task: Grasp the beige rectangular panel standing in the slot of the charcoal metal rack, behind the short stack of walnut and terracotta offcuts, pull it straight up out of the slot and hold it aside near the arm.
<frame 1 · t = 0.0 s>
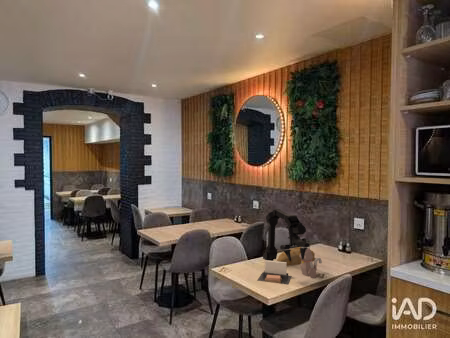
hand: (296, 260, 197), 15 cm above the table, tool pointing down, fingers open, 9 cm apart
offcut upper: (273, 278, 200), point 2 cm above the table, touching offcut lower
toy: (311, 275, 214), on the table
rack: (274, 279, 205), on the table
bread: (296, 262, 243), on the table
offcut lower: (273, 280, 200), point 1 cm above the table, touching offcut upper, rack
beige rectangular panel: (275, 276, 208), point 1 cm above the table, touching rack
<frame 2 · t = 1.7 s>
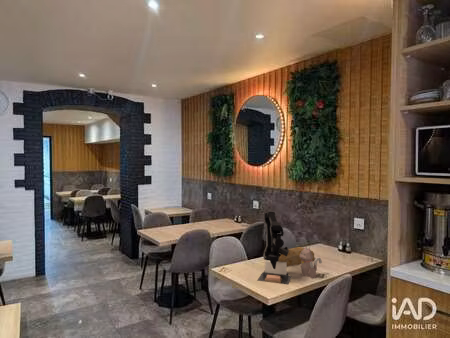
hand: (275, 266, 208), 8 cm above the table, tool pointing down, fingers open, 9 cm apart
nothing on the table moved.
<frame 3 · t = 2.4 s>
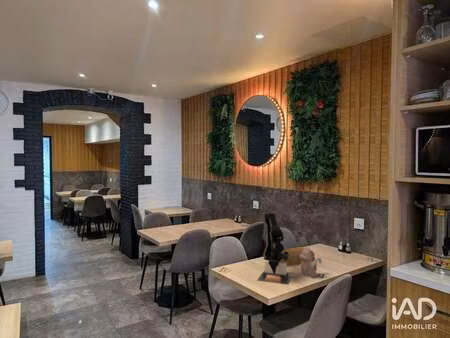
hand: (275, 271, 208), 5 cm above the table, tool pointing down, fingers open, 9 cm apart
nothing on the table moved.
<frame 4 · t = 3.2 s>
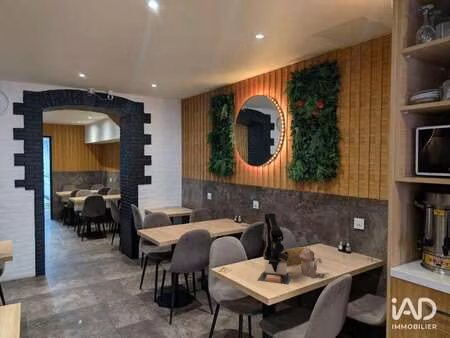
hand: (275, 271, 208), 5 cm above the table, tool pointing down, fingers closed on beige rectangular panel, 2 cm apart
beige rectangular panel: (275, 276, 208), point 1 cm above the table, touching gripper, rack
everything else where it was.
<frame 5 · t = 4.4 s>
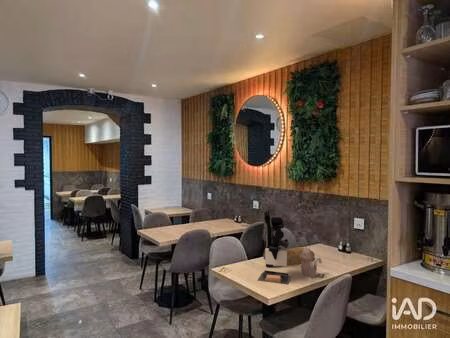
hand: (275, 259, 207), 13 cm above the table, tool pointing down, fingers closed on beige rectangular panel
beige rectangular panel: (275, 264, 207), point 9 cm above the table, touching gripper
everything else where it was.
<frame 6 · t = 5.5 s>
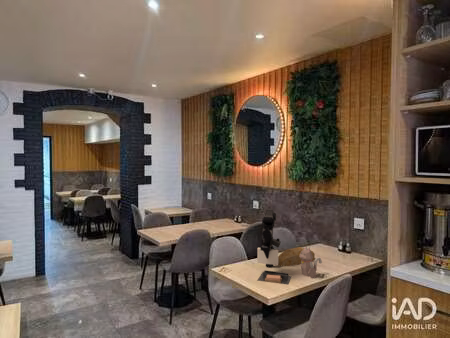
hand: (267, 258, 212), 12 cm above the table, tool pointing down, fingers closed on beige rectangular panel
beige rectangular panel: (267, 263, 212), point 8 cm above the table, touching gripper
everything else where it was.
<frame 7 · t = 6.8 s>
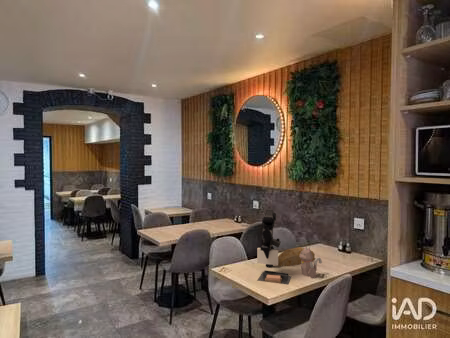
hand: (267, 258, 212), 12 cm above the table, tool pointing down, fingers closed on beige rectangular panel
beige rectangular panel: (267, 263, 212), point 8 cm above the table, touching gripper
everything else where it was.
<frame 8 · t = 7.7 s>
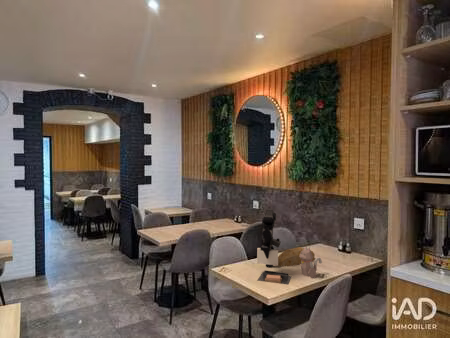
hand: (267, 258, 212), 12 cm above the table, tool pointing down, fingers closed on beige rectangular panel
beige rectangular panel: (267, 263, 212), point 8 cm above the table, touching gripper
everything else where it was.
at the end: the gripper is holding beige rectangular panel; beige rectangular panel point 7.9 cm above the table; offcut upper moved 0.0 cm from its start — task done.
